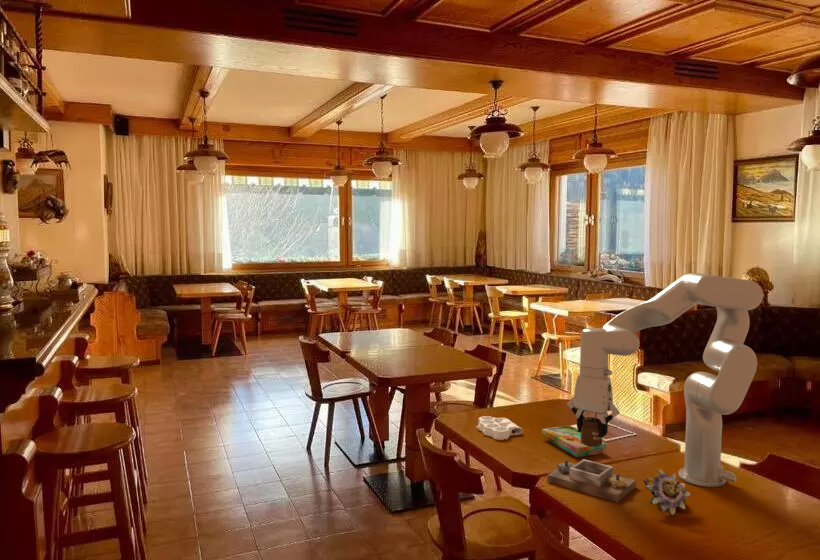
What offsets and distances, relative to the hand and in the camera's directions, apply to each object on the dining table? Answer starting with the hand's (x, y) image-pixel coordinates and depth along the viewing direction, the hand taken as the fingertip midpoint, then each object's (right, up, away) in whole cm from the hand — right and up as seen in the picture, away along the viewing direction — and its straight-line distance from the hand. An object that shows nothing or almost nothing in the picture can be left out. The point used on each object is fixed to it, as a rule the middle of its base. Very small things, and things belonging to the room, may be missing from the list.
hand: (591, 433), depth 176 cm
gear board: (0, -15, +1) cm, 15 cm away
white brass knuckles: (-20, -12, +48) cm, 54 cm away
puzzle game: (+3, -13, +32) cm, 35 cm away
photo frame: (+18, -12, +48) cm, 52 cm away
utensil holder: (0, -3, 0) cm, 3 cm away
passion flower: (+15, -17, -13) cm, 26 cm away
